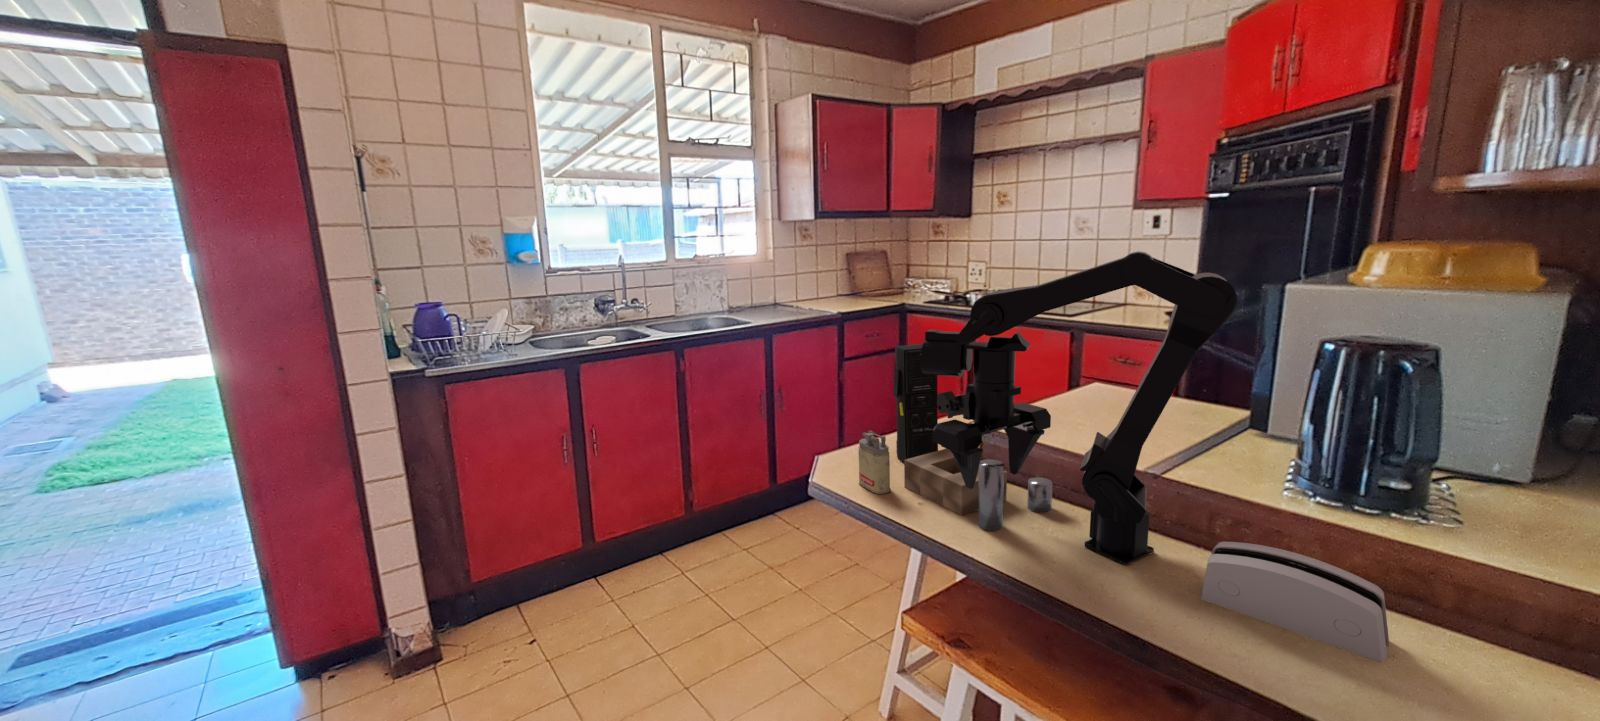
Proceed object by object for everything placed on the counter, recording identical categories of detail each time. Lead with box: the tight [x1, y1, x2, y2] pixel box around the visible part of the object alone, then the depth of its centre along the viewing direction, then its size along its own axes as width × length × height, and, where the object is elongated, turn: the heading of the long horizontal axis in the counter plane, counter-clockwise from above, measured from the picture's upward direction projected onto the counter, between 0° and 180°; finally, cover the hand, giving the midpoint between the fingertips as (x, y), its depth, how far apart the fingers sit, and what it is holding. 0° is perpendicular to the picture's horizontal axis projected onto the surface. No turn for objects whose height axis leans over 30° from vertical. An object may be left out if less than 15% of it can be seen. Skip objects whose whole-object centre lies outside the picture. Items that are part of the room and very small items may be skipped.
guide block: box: [903, 448, 1008, 516], centre depth 108 cm, size 14×10×5 cm
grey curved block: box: [1200, 541, 1390, 664], centre depth 70 cm, size 17×5×10 cm, turn 42°
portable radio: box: [893, 343, 939, 463], centre depth 122 cm, size 8×6×25 cm
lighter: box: [858, 430, 891, 495], centre depth 112 cm, size 7×4×10 cm, turn 28°
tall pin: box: [977, 458, 1005, 532], centre depth 96 cm, size 4×4×10 cm
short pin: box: [1026, 476, 1053, 514], centre depth 102 cm, size 4×4×4 cm
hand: (992, 480), depth 95 cm, fingers open, 9 cm apart
